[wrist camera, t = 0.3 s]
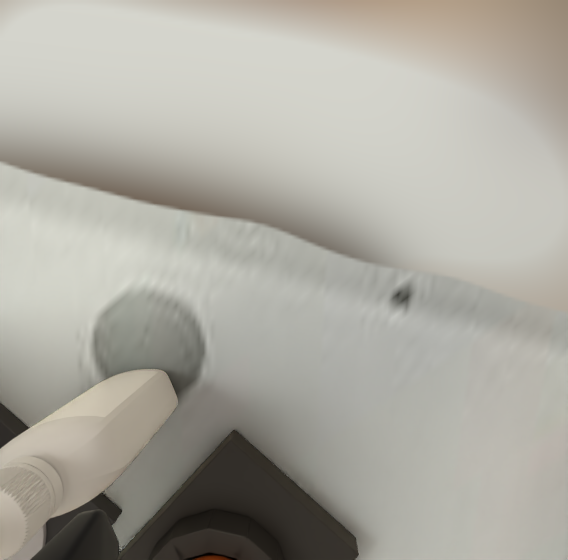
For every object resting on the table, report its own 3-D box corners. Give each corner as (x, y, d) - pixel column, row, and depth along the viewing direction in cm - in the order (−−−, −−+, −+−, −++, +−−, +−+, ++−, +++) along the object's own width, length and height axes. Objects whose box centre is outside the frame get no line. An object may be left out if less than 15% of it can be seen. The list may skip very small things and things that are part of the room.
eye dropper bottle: (83, 356, 23) (-143, 465, 12) (184, 370, 23) (59, 496, 11) (75, 432, 24) (-153, 616, 12) (174, 447, 24) (44, 649, 12)
